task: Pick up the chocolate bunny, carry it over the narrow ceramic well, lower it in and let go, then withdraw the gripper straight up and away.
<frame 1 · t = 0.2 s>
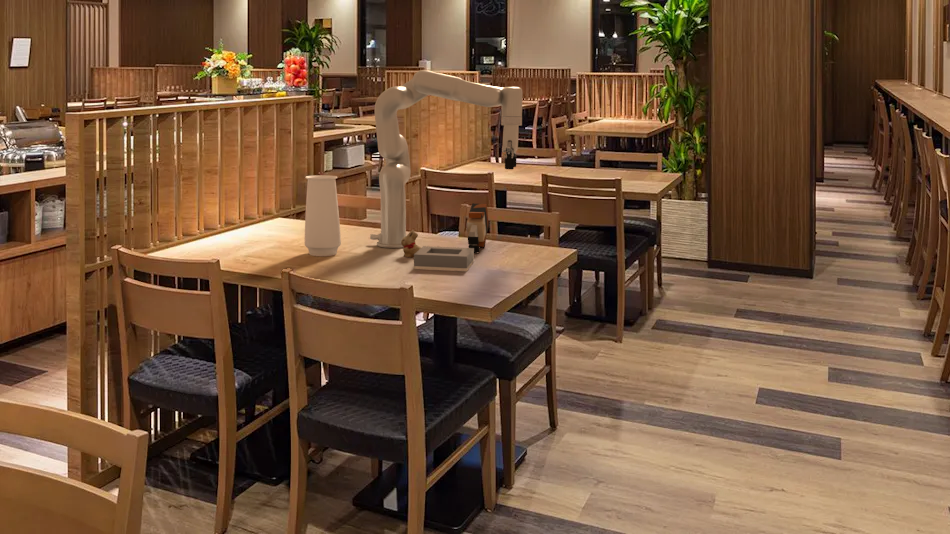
hand: (510, 168, 331), 31 cm above the table, tool pointing down, fingers open, 9 cm apart
chocolate bunny: (413, 257, 322), on the table
well: (444, 265, 307), on the table
vase: (323, 254, 325), on the table
toy: (475, 249, 339), on the table
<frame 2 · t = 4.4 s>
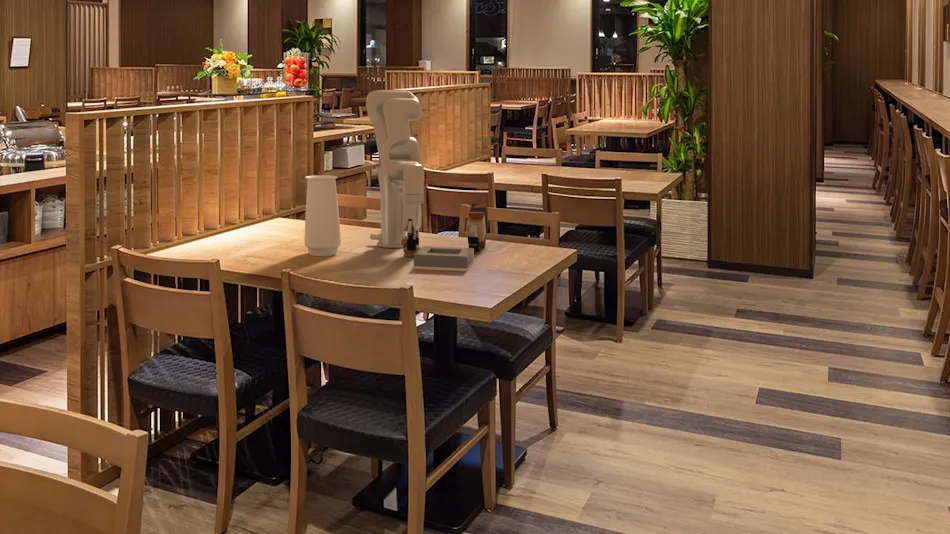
hand: (413, 248, 322), 3 cm above the table, tool pointing down, fingers closed on chocolate bunny, 4 cm apart
chocolate bunny: (413, 257, 322), on the table, touching gripper
everything else where it was.
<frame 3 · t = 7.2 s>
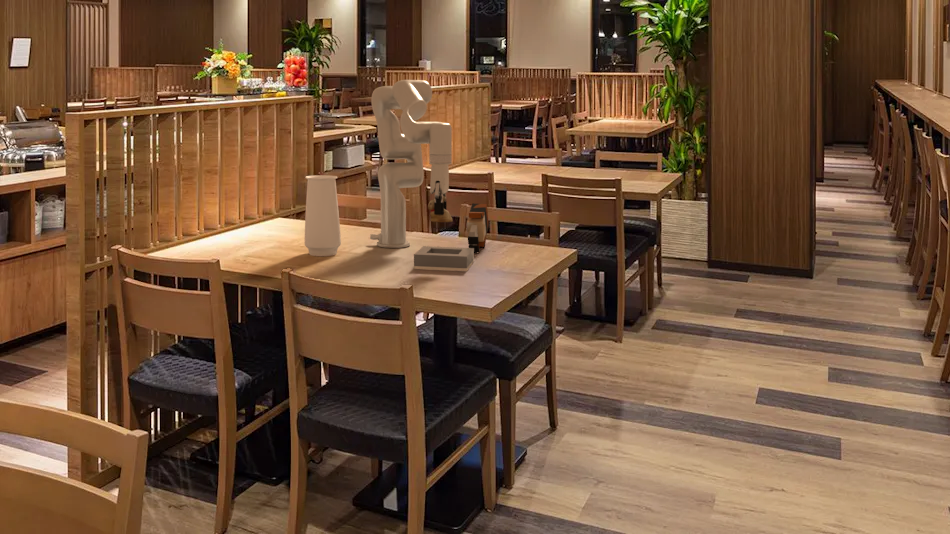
hand: (440, 213, 305), 18 cm above the table, tool pointing down, fingers closed on chocolate bunny, 4 cm apart
chocolate bunny: (440, 221, 306), point 15 cm above the table, touching gripper
everything else where it was.
when the fingers open (5 cm above the table, at t = 10.1 s): chocolate bunny drops 1 cm, resting on well.
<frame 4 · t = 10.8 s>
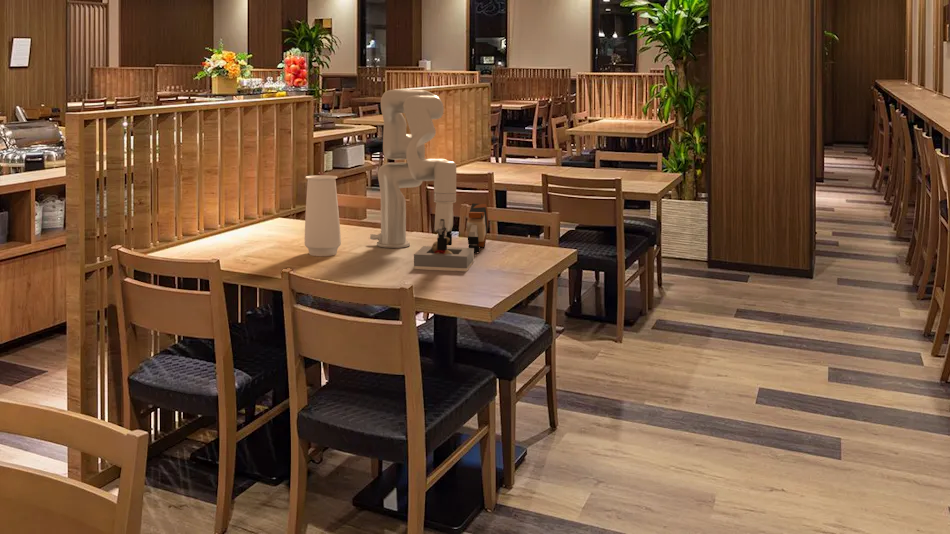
hand: (444, 247, 306), 6 cm above the table, tool pointing down, fingers open, 9 cm apart
chocolate bunny: (444, 262, 307), point 1 cm above the table, touching well
everything else where it was.
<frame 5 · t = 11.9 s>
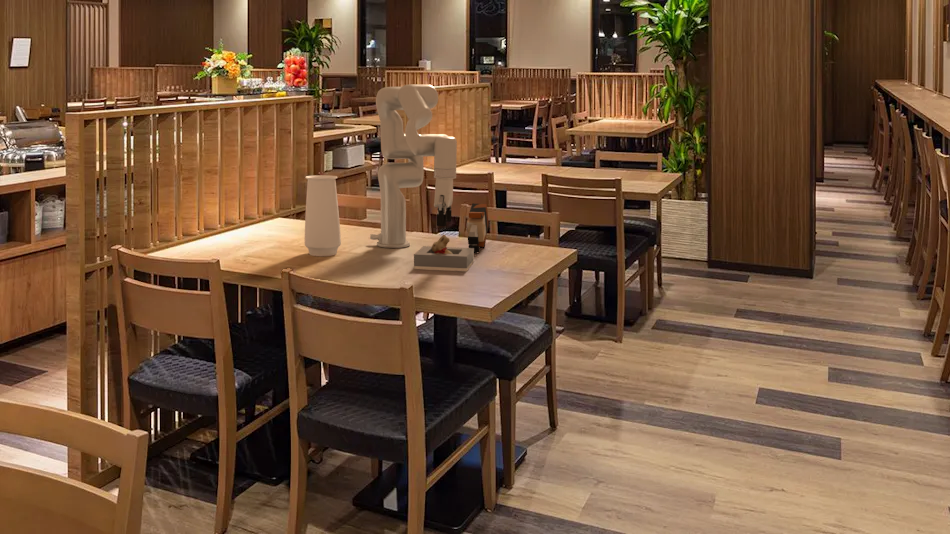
hand: (444, 223, 304), 14 cm above the table, tool pointing down, fingers open, 9 cm apart
nothing on the table moved.
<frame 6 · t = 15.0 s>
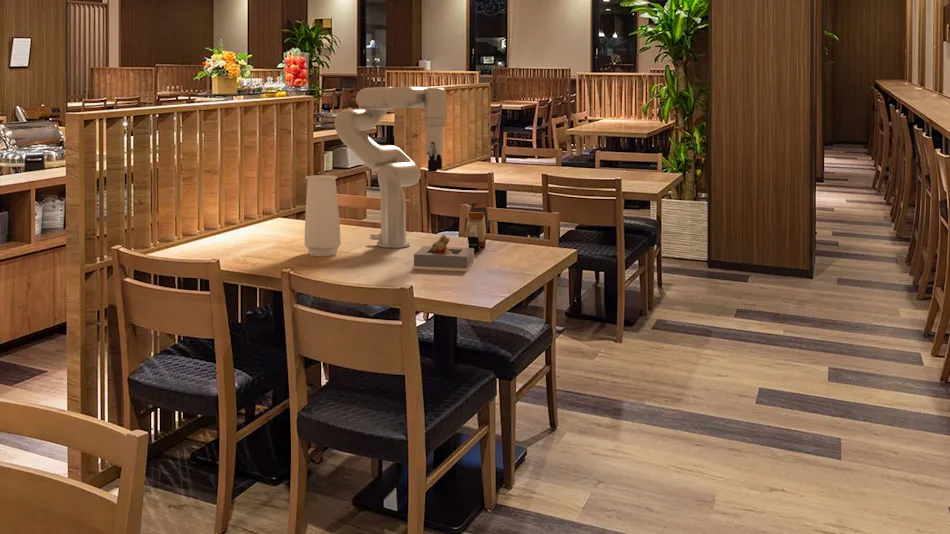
hand: (435, 170, 325), 30 cm above the table, tool pointing down, fingers open, 9 cm apart
nothing on the table moved.
at the end: chocolate bunny 0.3 cm off-centre on the well, point 0.8 cm above the well's base; chocolate bunny tilted 0°; the gripper is holding nothing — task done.
